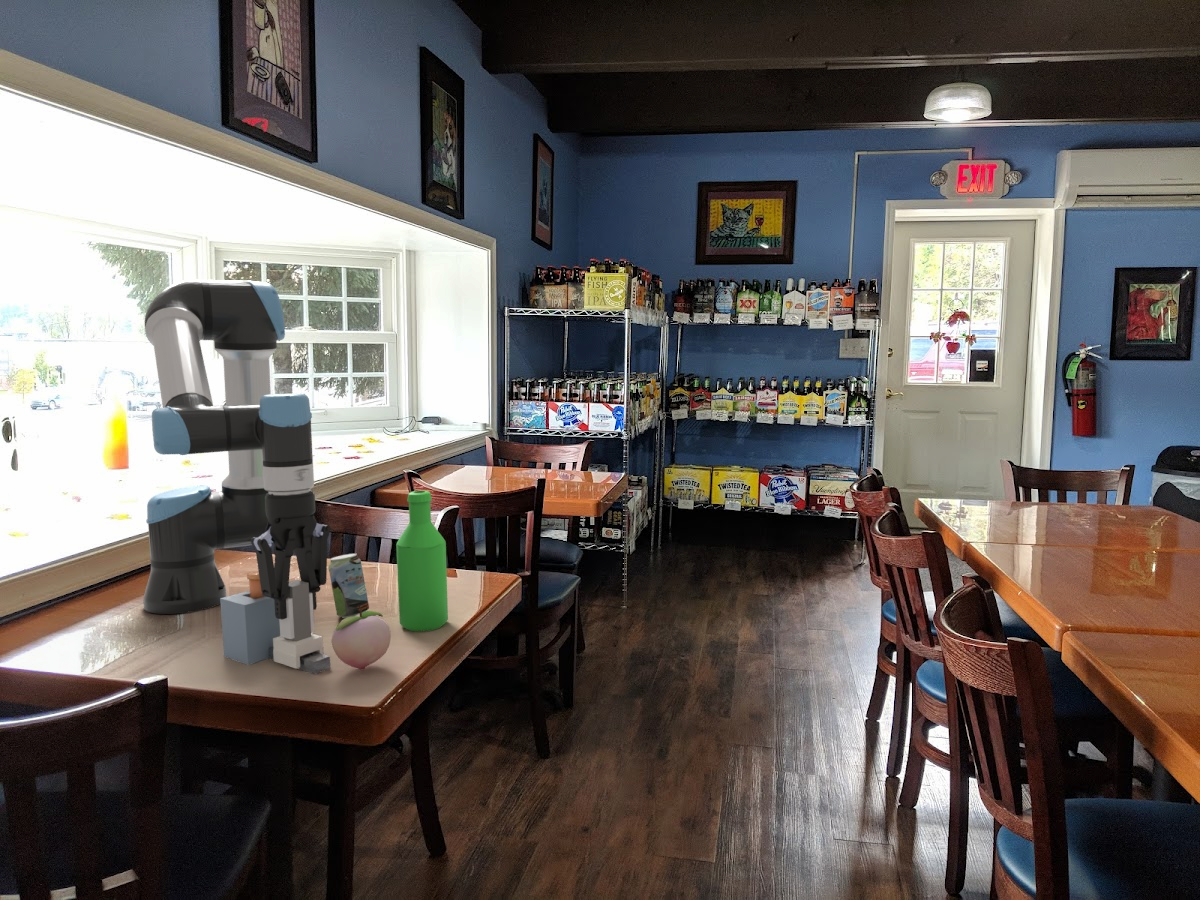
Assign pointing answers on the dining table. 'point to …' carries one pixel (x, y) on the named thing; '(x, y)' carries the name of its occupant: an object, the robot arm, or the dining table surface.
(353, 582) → the beverage can
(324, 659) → the rail
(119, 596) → the dining table surface
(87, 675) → the dining table surface
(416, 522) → the bottle
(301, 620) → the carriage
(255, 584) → the plunger
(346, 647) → the decorative fruit
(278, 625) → the housing
